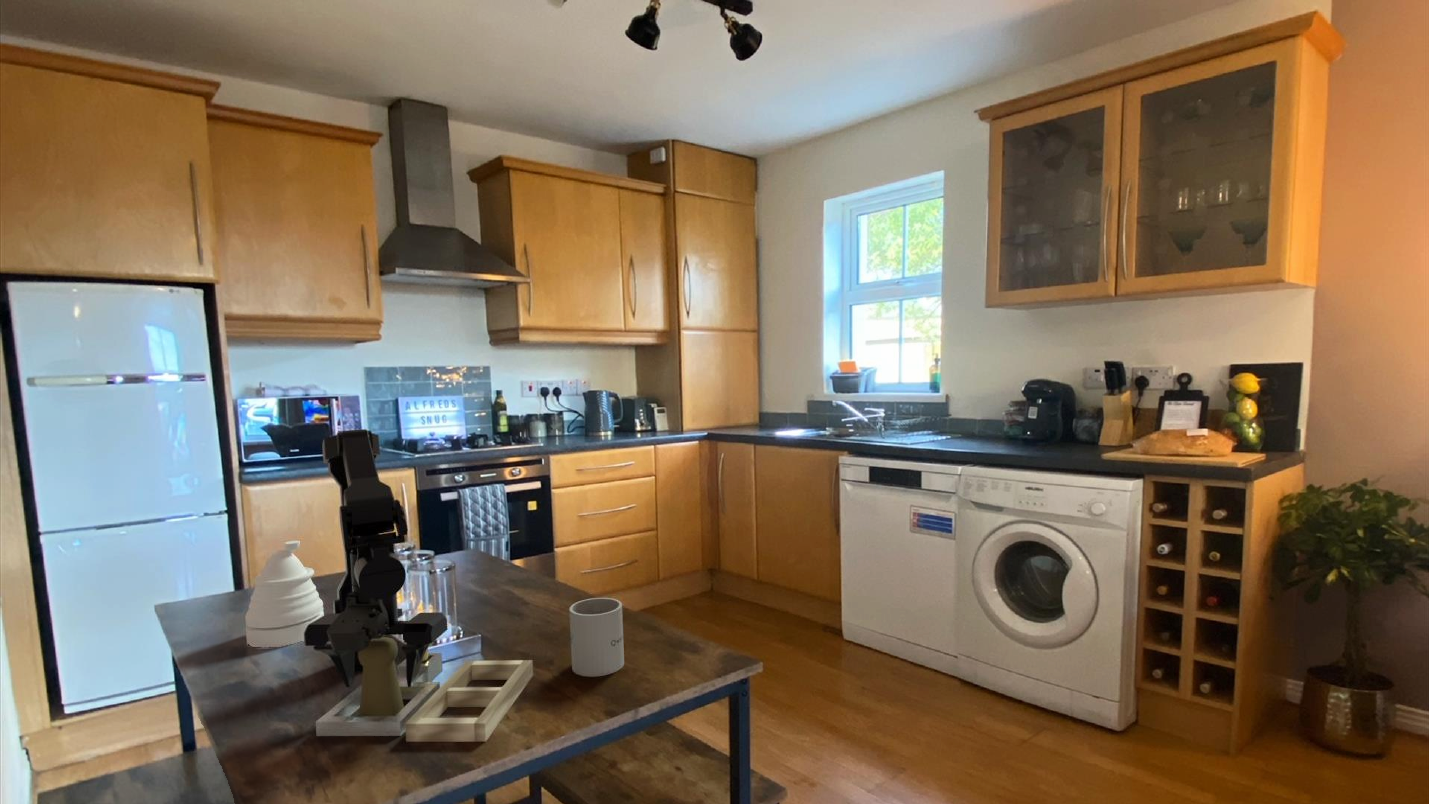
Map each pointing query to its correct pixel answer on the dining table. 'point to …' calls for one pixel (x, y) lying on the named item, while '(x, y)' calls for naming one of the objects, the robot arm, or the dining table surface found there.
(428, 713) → the rack
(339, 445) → the robot arm
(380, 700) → the cork
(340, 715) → the socket block
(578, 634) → the mug
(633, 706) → the dining table surface
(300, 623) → the honey pot
